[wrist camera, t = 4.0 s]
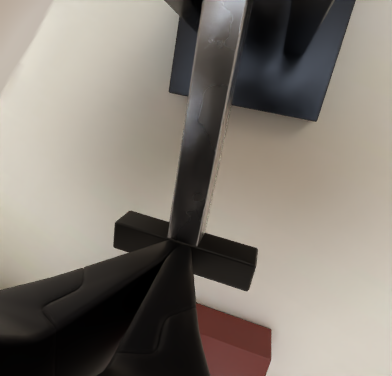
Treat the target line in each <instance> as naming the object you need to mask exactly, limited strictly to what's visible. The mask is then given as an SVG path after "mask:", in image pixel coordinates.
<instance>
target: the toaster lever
mask: <svg viewBox="0 0 392 376" xmlns="http://www.w3.org/2000/svg"><path fill="white" fill-rule="evenodd" d="M252 5H253V0H203V4H202V10H201V17H200V24H199V30H198V37H197V43H196V50H195V57H194V63H193V70H192V76H191V83H190V90H189V96H188V103H187V109H186V116H185V123H184V129H183V136H182V142H181V149H180V156H179V162H178V169H177V175H176V182H175V189H174V195H173V202H172V208H171V215H170V222H167V221H164V220H160V219H157V218H153V217H150V216H147V215H143V214H140V213H137V212H133V211H129V212H127V213H126V214H125V215H124V216H122V217H121V218H120V219H119V220H117V221H116V222H115V231H114V248H117V249H120V250H123V251H126V252H129V253H130V252H133V251H136V250H139V249H142V248H145V247H148V246H151V245H154V244H157V243H160V242H164V241H167V240H169V241H172V242H175V243H178V245H179V244H182V245H185V246H188V247H190V248H191V254H192V264H193V274H195V275H198V276H201V277H204V278H207V279H210V280H214V281H217V282H220V283H223V284H226V285H229V286H232V287H235V288H238V289H241V290H244V291H248V290H249V288H250V285H251V281H252V278H253V275H254V272H255V268H256V263H257V255H258V249H257V248H255V247H251V246H248V245H244V244H241V243H238V242H234V241H231V240H228V239H224V238H221V237H217V236H214V235H211V234H207V233H205V229H206V224H207V220H208V215H209V210H210V205H211V201H212V196H213V191H214V186H215V181H216V177H217V172H218V167H219V162H220V158H221V153H222V148H223V143H224V139H225V134H226V129H227V124H228V119H229V115H230V110H231V105H232V100H233V96H234V91H235V86H236V81H237V76H238V72H239V67H240V62H241V57H242V53H243V48H244V43H245V38H246V34H247V29H248V24H249V19H250V14H251V10H252Z"/></svg>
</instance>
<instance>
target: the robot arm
mask: <svg viewBox="0 0 392 376" xmlns="http://www.w3.org/2000/svg"><path fill="white" fill-rule="evenodd" d="M0 376H211V375H210V372H209V368H208V364H207V361H206V357H205V353H204V350H203V345H202V341H201V336H200V332H199V325H198V317H197V309H196V297H195V286H194V275H193V264H192V254H191V248H190V247H188V246H185V245H182V244H179V245H178V243H175V242H172V241H169V240H167V241H164V242H160V243H157V244H154V245H151V246H148V247H145V248H142V249H139V250H136V251H133V252H130V253H127V254H124V255H120V256H117V257H114V258H111V259H108V260H105V261H102V262H99V263H96V264H93V265H90V266H86V267H84V269H83V268H80V269H77V270H74V271H71V272H68V273H64V274H61V275H58V276H54V277H51V278H47V279H43V280H39V281H36V282H32V283H28V284H24V285H19V286H15V287H11V288H7V289H3V290H0Z"/></svg>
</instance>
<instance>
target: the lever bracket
mask: <svg viewBox="0 0 392 376" xmlns="http://www.w3.org/2000/svg"><path fill="white" fill-rule="evenodd" d="M164 1H165V2H166V3H167V4H168V5H169V6H170V7H171V8H172V9H173V10H174V11H175V12H176V13H177V14H178V15H179V16H180V17H179V24H178V31H177V38H176V45H175V51H174V58H173V65H172V72H171V79H170V86H169V93H173V94H179V95H184V96H189V90H190V83H191V76H192V70H193V63H194V57H195V50H196V43H197V37H198V30H199V24H200V17H201V10H202V4H203V0H164ZM355 1H356V0H253V5H252V10H251V14H250V19H249V24H248V29H247V34H246V38H245V43H244V48H243V53H242V57H241V62H240V67H239V72H238V76H237V81H236V86H235V91H234V96H233V100H232V105H234V106H239V107H244V108H249V109H254V110H260V111H265V112H270V113H275V114H280V115H285V116H290V117H295V118H300V119H305V120H310V121H315V122H316V121H317V120H318V116H319V113H320V110H321V107H322V104H323V101H324V98H325V95H326V91H327V88H328V85H329V82H330V79H331V76H332V73H333V70H334V66H335V63H336V60H337V57H338V54H339V51H340V48H341V45H342V41H343V38H344V35H345V32H346V29H347V26H348V23H349V19H350V16H351V13H352V10H353V7H354V4H355Z"/></svg>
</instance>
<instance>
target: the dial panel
mask: <svg viewBox="0 0 392 376" xmlns="http://www.w3.org/2000/svg"><path fill="white" fill-rule="evenodd" d="M196 309H197V317H198V325H199V332H200V336H201V341H202V345H203V350H204V353H205V357H206V361H207V364H208V368H209V372H210V375H211V376H265V375H266V372H267V370H268V367H269V364H270V362H271V329H268V328H266V327H263V326H260V325H257V324H254V323H251V322H248V321H246V320H243V319H240V318H237V317H234V316H231V315H229V314H226V313H223V312H220V311H217V310H214V309H211V308H209V307H206V306H203V305H200V304H197V303H196Z"/></svg>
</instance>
